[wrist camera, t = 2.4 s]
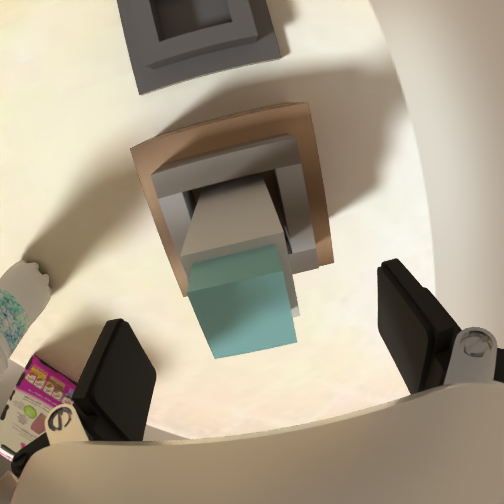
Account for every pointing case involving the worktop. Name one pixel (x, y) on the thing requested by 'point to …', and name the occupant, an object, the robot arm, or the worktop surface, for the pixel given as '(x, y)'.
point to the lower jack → (194, 38)
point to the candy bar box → (32, 405)
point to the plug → (239, 269)
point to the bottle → (20, 305)
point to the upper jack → (237, 166)
